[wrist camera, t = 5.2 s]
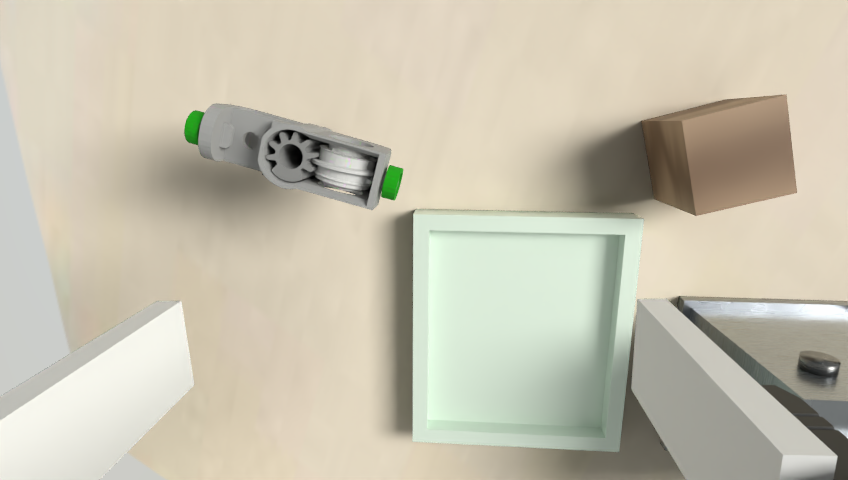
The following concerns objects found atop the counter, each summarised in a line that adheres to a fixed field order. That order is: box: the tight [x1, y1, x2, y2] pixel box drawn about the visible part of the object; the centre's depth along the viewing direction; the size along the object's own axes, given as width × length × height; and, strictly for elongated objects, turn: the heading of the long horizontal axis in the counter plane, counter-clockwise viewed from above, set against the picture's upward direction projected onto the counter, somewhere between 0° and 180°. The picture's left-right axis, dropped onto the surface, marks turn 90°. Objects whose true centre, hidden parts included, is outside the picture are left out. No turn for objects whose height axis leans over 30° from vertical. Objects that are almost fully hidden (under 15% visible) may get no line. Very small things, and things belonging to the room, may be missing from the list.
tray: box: [413, 209, 644, 452], centre depth 34 cm, size 16×14×2 cm
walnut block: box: [641, 95, 797, 216], centre depth 29 cm, size 5×5×6 cm
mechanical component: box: [185, 104, 403, 210], centre depth 28 cm, size 3×10×10 cm, turn 75°
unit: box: [661, 296, 848, 450], centre depth 28 cm, size 11×11×13 cm
